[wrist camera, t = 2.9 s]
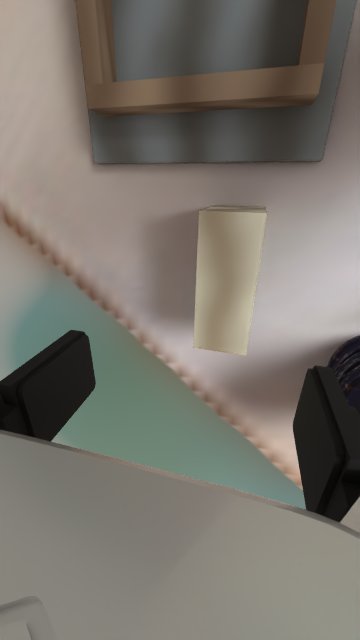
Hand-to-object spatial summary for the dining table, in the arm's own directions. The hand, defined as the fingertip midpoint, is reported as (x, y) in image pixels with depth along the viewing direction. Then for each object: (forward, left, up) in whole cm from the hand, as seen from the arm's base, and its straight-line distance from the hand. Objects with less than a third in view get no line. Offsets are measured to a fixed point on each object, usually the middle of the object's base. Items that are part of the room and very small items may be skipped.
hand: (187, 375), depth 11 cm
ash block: (0, 0, -18) cm, 18 cm away
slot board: (+4, -18, -18) cm, 26 cm away
